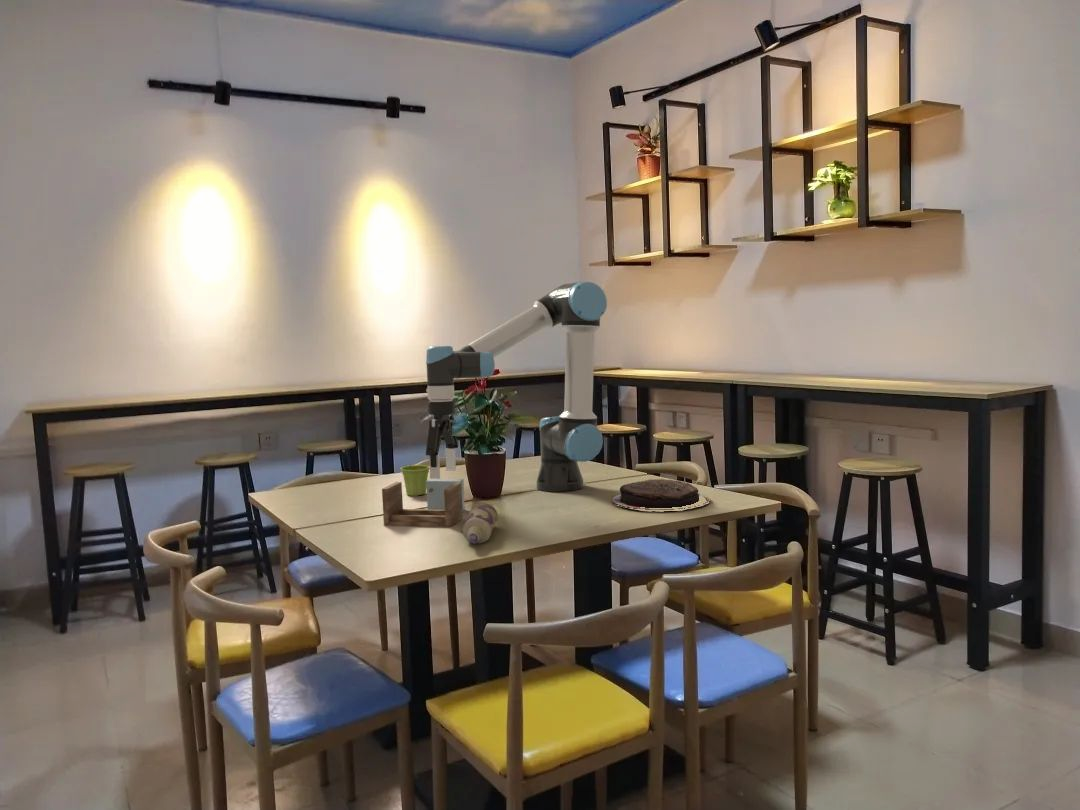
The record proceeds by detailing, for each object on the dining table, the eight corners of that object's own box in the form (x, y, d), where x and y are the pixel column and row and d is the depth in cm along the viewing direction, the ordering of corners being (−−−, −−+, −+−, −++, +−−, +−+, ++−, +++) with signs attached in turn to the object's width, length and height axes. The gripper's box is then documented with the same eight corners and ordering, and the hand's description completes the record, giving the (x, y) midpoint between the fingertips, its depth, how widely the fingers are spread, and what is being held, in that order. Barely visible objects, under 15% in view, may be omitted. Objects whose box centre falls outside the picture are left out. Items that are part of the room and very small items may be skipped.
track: (463, 518, 231) (461, 482, 230) (451, 526, 221) (449, 489, 220) (398, 517, 235) (396, 481, 234) (383, 525, 226) (381, 488, 225)
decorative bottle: (469, 527, 221) (469, 502, 220) (498, 527, 220) (497, 502, 220) (454, 553, 195) (453, 525, 194) (487, 553, 195) (486, 524, 194)
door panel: (464, 509, 242) (463, 479, 241) (460, 513, 238) (458, 481, 237) (432, 509, 244) (430, 478, 244) (426, 512, 240) (425, 481, 239)
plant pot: (434, 491, 272) (433, 464, 271) (427, 497, 263) (426, 469, 262) (406, 491, 273) (404, 465, 272) (398, 497, 264) (396, 470, 263)
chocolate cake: (730, 502, 240) (730, 480, 240) (663, 519, 223) (663, 494, 222) (658, 490, 262) (658, 469, 262) (592, 504, 245) (591, 482, 244)
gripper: (443, 397, 252) (445, 467, 253) (412, 404, 227) (414, 481, 229) (467, 397, 250) (469, 467, 252) (438, 404, 226) (440, 482, 228)
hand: (443, 474), depth 240 cm, fingers open, 13 cm apart
